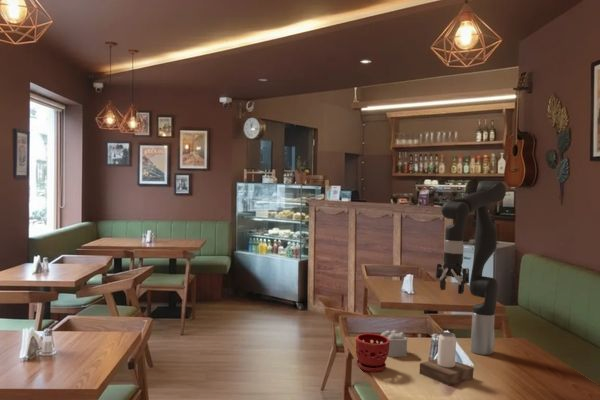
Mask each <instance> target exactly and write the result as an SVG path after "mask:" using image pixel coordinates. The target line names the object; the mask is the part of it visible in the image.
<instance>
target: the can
mask: <svg viewBox="0 0 600 400" xmlns="http://www.w3.org/2000/svg"><path fill="white" fill-rule="evenodd" d="M456 337H457V336H456V334H455V333H453V332H449V331H442V332H440V333H439V336H438V344H437V345H438V347H437V359H438V365H439V366H441V367H445V368H452V367H454V366H455V362H456V354H457V350H456V349H457V338H456Z"/></svg>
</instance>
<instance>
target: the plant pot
mask: <svg viewBox="0 0 600 400" xmlns="http://www.w3.org/2000/svg"><path fill="white" fill-rule="evenodd" d="M371 341H373V342H371ZM381 341H382V342H383V343H382V344H380V342H381ZM389 344H390V341H389V339H388V338H387V337H385V336H382V335H381V334H378V333H370V332H369V333H361V334H358V335H357V336H356V337H355V354H356V358H357V359H356V361H355V364H356V366H357V367H358V368H359V369H361V370H363V371H366V372H373V373H374V372H380V371H383V370H384V369H386V366H387V364H386V361H387V359H388V352H389Z"/></svg>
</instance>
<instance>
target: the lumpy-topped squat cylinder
mask: <svg viewBox="0 0 600 400" xmlns="http://www.w3.org/2000/svg"><path fill="white" fill-rule="evenodd" d="M380 335H382V336H385V337H387V338H388V339H389V341H390V344H389V352H388V356H387V358H388V357H389V358H396V357H399V358H405V357H407V355H408V354H407V351H408V350H407V349H408V338H407V336H406V334H405V333H404V332H402V331H401V332H398V331H397V330H396V329H392V330H391V331H390V330H389V329H388V330H386V331H384V332H381V334H380ZM382 343H383V342H382V341H381V342H380V344H382Z"/></svg>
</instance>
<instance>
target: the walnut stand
mask: <svg viewBox="0 0 600 400" xmlns="http://www.w3.org/2000/svg"><path fill="white" fill-rule="evenodd" d="M419 375H422V376H424V377H427V378H430V379H432V380H434V381H437V382H440V383H441V384H444V385H446V386H452V385H453V386H454V385H456V384H459V383H463V382H466V381H469V380H472V379H474V367H472V366H469V365H466V364H463V363H461V362H457V361H455V366H454V367H452V368H445V367H441V366H439V365H438V358H436V359H431V360H428V361H423V362H420V363H419Z"/></svg>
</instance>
